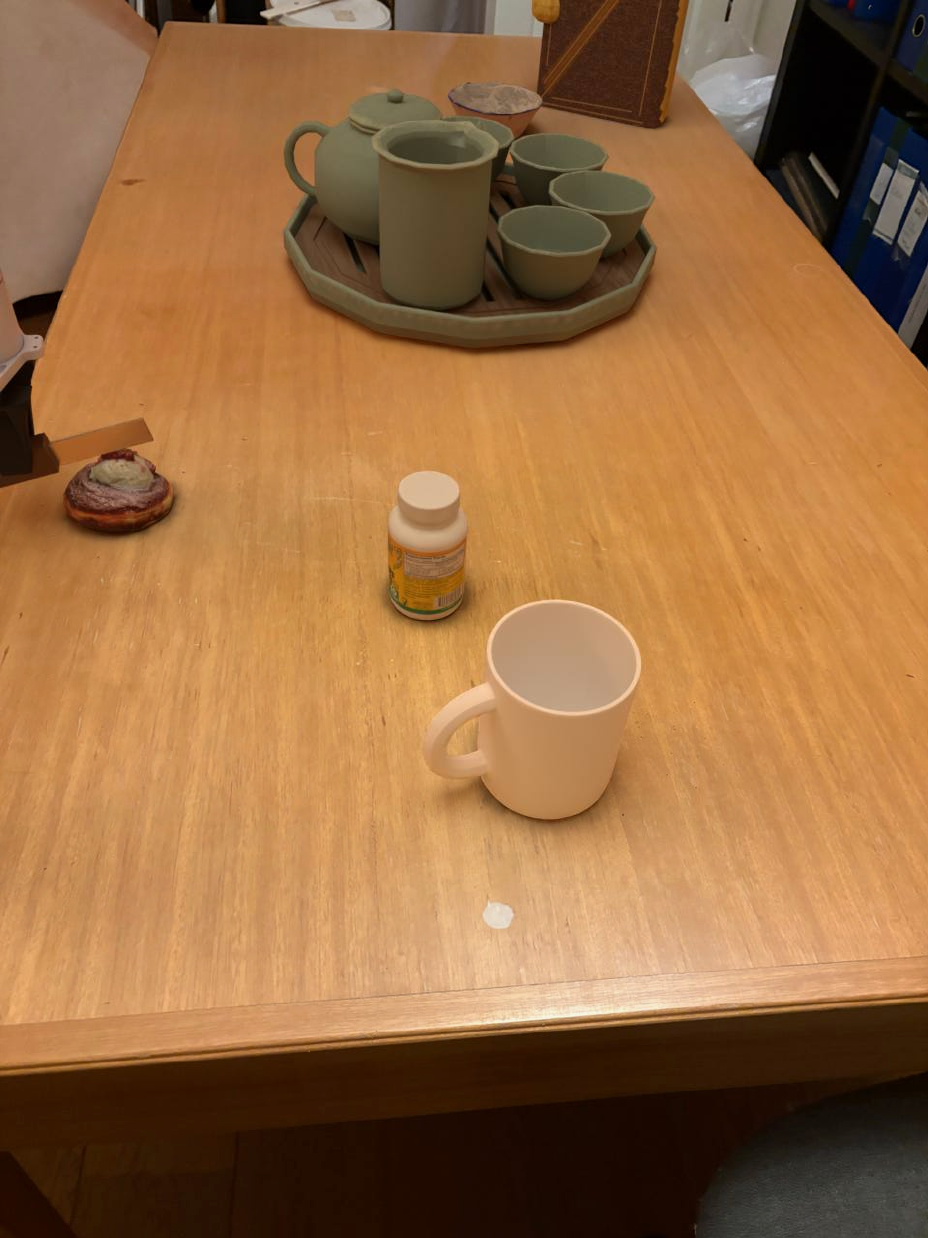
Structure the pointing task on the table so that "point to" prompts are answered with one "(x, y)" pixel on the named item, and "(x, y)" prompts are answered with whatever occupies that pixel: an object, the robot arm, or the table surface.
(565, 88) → the book
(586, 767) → the mug
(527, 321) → the tea set
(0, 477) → the knife
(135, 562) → the table surface
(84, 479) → the pastry
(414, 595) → the supplement bottle
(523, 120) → the bowl
